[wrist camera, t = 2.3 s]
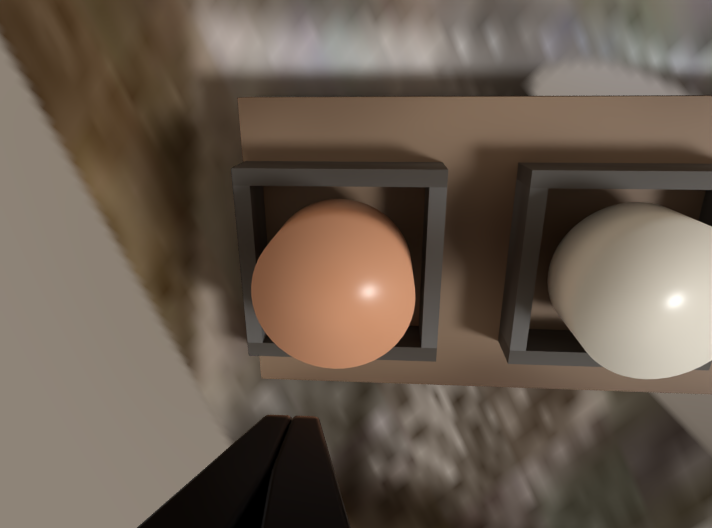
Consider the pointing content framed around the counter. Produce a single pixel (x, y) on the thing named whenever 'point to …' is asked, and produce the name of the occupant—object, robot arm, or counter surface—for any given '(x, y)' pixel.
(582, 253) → the cream button
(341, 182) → the button board
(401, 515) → the counter surface
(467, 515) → the counter surface
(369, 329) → the terracotta button
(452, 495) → the counter surface
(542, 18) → the counter surface
